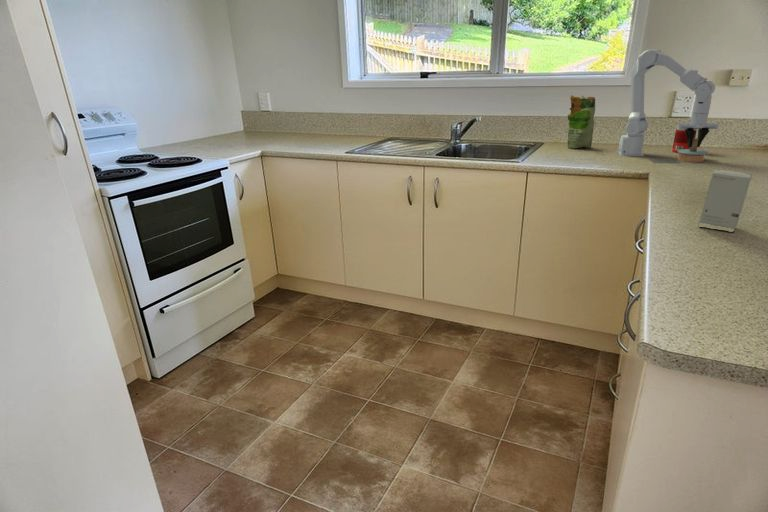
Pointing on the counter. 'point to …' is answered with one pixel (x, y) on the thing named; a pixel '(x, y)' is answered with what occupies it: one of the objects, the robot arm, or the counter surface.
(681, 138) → the canned food
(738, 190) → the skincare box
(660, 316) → the counter surface
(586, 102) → the pouch
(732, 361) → the counter surface
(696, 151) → the lid
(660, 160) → the mat
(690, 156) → the bowl
